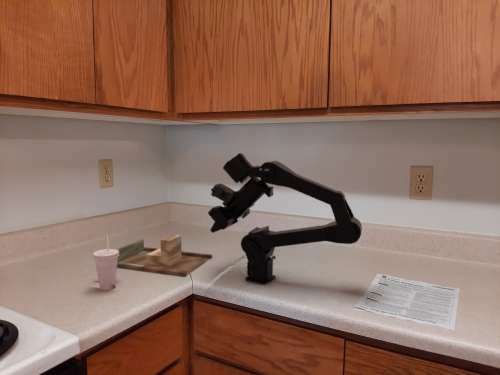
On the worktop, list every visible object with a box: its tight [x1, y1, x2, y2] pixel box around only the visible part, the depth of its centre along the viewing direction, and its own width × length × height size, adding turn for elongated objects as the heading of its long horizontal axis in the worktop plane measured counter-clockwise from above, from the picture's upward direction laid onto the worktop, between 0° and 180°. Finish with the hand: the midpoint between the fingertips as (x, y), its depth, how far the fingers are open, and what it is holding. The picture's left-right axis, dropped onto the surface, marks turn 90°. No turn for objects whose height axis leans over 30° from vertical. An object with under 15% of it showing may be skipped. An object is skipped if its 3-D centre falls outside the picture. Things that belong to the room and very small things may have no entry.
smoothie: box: [92, 235, 119, 292], centre depth 95 cm, size 6×6×14 cm
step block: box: [146, 234, 182, 267], centre depth 111 cm, size 8×7×8 cm
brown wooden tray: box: [116, 238, 213, 278], centre depth 112 cm, size 26×18×6 cm
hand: (211, 231), depth 106 cm, fingers closed
